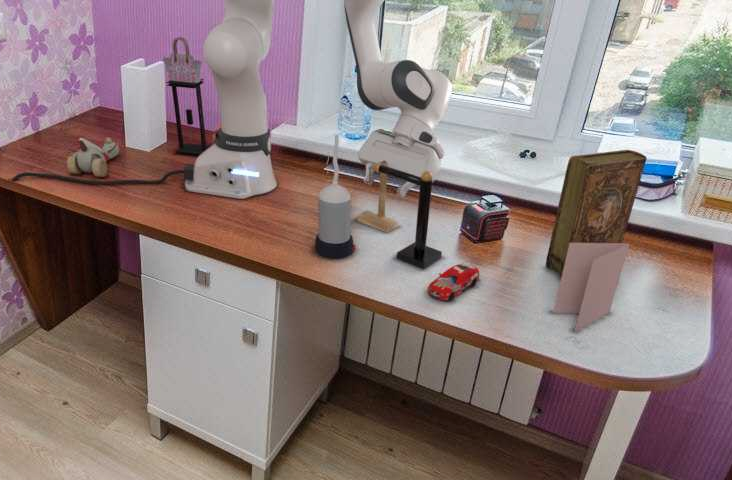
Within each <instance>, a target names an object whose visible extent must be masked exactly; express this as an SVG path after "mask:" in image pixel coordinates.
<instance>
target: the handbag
mask: <svg viewBox="0 0 732 480" xmlns="http://www.w3.org/2000/svg"><path fill="white" fill-rule="evenodd" d="M178 41H180V42H182V44H183V45H184V51H185V54H182V53H181V54H180V53H178V47H177V45H178ZM162 61H163V63H164V65H165V68H166V72H167V81H166V82H165V84H166V85H165V86H167V87H171V90H172V100H173V107H174V115H175V116H174V117H175V123H176V124H175V125H176V131H177V139H178V146H179V147H178V148H177V149H176V150H175V151H174V152H175V155H181V156H191V157H199V155H201V154H202V153H203V152H204V151H206V150H207V149H208V148H209V147H211V145H209V144H207V139H206V138H207V137H206V131H205V130H206V127H205V120H204V119H205V117H204V110H203V100H202V91H201V90H202V89H201V85H202V84H204V83H205V81H204V80H205V79H204V78H201V70H202V64H203V61H201V60H196V59H194V55H193V54H192V55H191V54H190V46H189V43H188V41H187V39H186V38H184V37H183V36H177V37H176V38H174V39H173V41H172V53H170V54H169V57H162ZM177 88H183V89H184V88H185V89H195V92H196V93H195V94H196V103H197V111H198V120H199V121H198V122H199V131H200V139H201V144H199V143H189V142H185V143H184V137H183V127H182V121H181V113H180V105H179V96H178V89H177ZM185 115H186V124H187V125H190V126H192V125H194V117H193V110H192V109H189V108H187V109H186V110H185Z"/></svg>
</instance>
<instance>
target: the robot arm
mask: <svg viewBox="0 0 732 480" xmlns="http://www.w3.org/2000/svg"><path fill="white" fill-rule="evenodd" d="M384 2H385V0H344V3H343V4H344V14H345V20H346V25H347V31H348V34H349V39H350V44H351V47H352V53H353V58H354V62H355V67H356V68H355V69H356V89H357V94H358V96H359V99H360V101H361V102H362V104H364V105H365V107H367V108H368V109H370V110H373V111H382V110H386V109H391V108H397V109H398V110H400V115H399V118H398V119H397V121H396V123H395V125H394V126H393V128H392V130H391V131H389V130H385V129H383V128H378V129H376V130H372V131H371V132H370V134H369V135H368V137H367V139H366V140H365V141H364V143H363V144H362V145H361V147H360V148H359V150H358V152H357V158H358V160H359V161H360V162H361V164H363V165H364V166H365V176H364V178H363V183H364V184H365V185H368V186H372V185H373V183H370V182H369V170H370V166H371V165H374V164H376V163H379V162H381V161H384V160H385V161H386V162H387V163H388V167H390V168H393V169H396V170H400V171H403V172H406V173H409V174H412V175H415V176H418V177H421V175H422V173H423V172H425V171H429V172H430V173H431V174H432V184H433V183H434V182H435V180H436V178H437V176H438V174H439V171H440V168H441V165H442V161H441V160H442V159H443V158H444V156H445V154H446V153H445V150H444V148H443V146H442V144H441V142H440V141H439V140H438V138H437V137H436V136H435V135H434V133H435V129H436V127H437V125H438V124H439V123H440V122H441V121H442V119H443V117H444V116H445V113H446V112H447V109H448V106H449V105H450V102H451V98H452V96H453V95H452V94H453V85H452V82H451V81H450V79H449V77H447V75H446V74H444V73H443V72H442V71H440V70H437V69H429V68H428V69H427V68H424V67H422V66H420V65H419V64H418V63H417V62H416V61H413V60H411V59H402V60H396V61H391V62H387V63H386V62H385V61H384V59H383V58H382V57H383V56H382V53H381V47H380V43H379V39H378V33H377V29H376V28H377V27H376V19H377V13H378V11H379V9H380V8H381V6H382V4H383V3H384ZM274 5H275V0H224V16H223V19H222V22H221V23H220V24H218V25H216V26H214V27H213V28H212V29H211V30H210V31H209V33H208V35H207V37H206V39H205V41H204V43H203V49H202V53H203V58H204V61H205V63H206V65H207V67H208V68H209V70H210V71H211V76H212V79H213V82H214V86H215V89H216V93H217V98H218V108H219V117H220V124H218V125H217V126H216V127H215V128H214V131H213V135H212V141H213V142H214V143H213V144H212V145H210V147H209V148H208V149H207V150H206V151H204V152H203V153H202V154H201V155H199V156H197V157H196V159H195V161H194V163H185V166H184V168H183V169H178V170H172V171H169V172H167V173H165V174H164V175H163V176H162V178H160V179H156V180H144V179H121V180H120V179H119V180H92V179H91V180H90V179H83V178H77V177H71V176H70V177H69V176H63V175H60V174H52V173H39V172H22V173H17V174H16V175H14V177H12V179H11V182H16V181H17V180H19V179H20V178H23V177H38V178H51V179H57V180H63V181H68V182H74V183H81V184H88V185H102V186H103V185H104V186H105V185H107V186H108V185H121V184H122V185H123V184H142V185H158V184H161V183H164V182H165V181H166V180H167V179H168V178H169V177H172V176H174V175H180V174H183V177H184V180H185V181H184V188H185V190H186V191H188V192H193V193H199V194H205V195H213V196H218V197H225V198H232V199H238V200H244V199H247V198H250V197H253V196H257V195H262V194H267V193H269V192H272V191H273V190H274V189H276V187H277V186H278V183H277V180H276V177H275V173H274V169H273V165H272V159H271V151H272V139H271V132H270V129H269V125H268V106H267V105H268V104H267V103H268V102H267V96H266V94H265V92H264V88H263V85H262V81H261V75H260V63H261V62H262V61H264V60H265V59H266V58H267V56H268V54H269V51H270V48H271V45H272V44H271V43H272V31H273V30H272V29H273V22H274V21H273V20H274ZM374 172H375V170H374ZM416 185H417V184H414V183H411V182H407V181H405V183H404V184H402V185H401V184H399V185H398V186H397V187H398V188H397V189H396V194H397V195H398V196H401V197H405V196H406V194H407V192H408V191H409V190H411V189H412V188H414V187H415V186H416Z"/></svg>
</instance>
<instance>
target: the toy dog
mask: <svg viewBox="0 0 732 480" xmlns="http://www.w3.org/2000/svg"><path fill="white" fill-rule="evenodd" d="M78 143H79V148H80V150H78V151H76V152H74V153H73V154H72V155H69V156H68V157H67V160H66V167H67V168H66V169H67V171H68V172H69V174H71V175H81V174H82V173H83V172H84V173H88V174H93V175H94V176H95V177H97V178H105V177H106V176H107V175H108V164H107V162H108V161H109V160H112V159H114V158H116V157H117V156H118V155H119V154H120V147H119V143H120V141H119V140H118V141H117V142H114V141H113V139H112V138H111V137H108V136H107V137H106V138H105V143H104V144H103V146H102V147H101V148H100V147H99V146H98V145H96V144H94V143H93V142H91V141H89V140H87V139H86V138H83V137H79V139H78Z"/></svg>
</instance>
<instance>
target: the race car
mask: <svg viewBox="0 0 732 480" xmlns="http://www.w3.org/2000/svg"><path fill="white" fill-rule="evenodd" d="M438 275H439V276H438V277H436V278H435V279H434V280H432V281H431V282H430V283H429V285H428V286H427V292H428V294H429V295H430V296H431V297H432V298H434V299H437V300H440V301H449V302H451V301H453V299H454V298H455V297H457V296H459V295H460V294H462V293H464V292H465V291H467V290H468V289H470V288H473V287H475V285H476V284H477V283H478V282H479V279H480V271H479V269H478V267H477V266H474V265H472V264H470V263H459V264H455V265H453V266H451V267H449V268H448V269H446V270H445V271H444V272H442V273H441V272H439V273H438Z"/></svg>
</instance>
